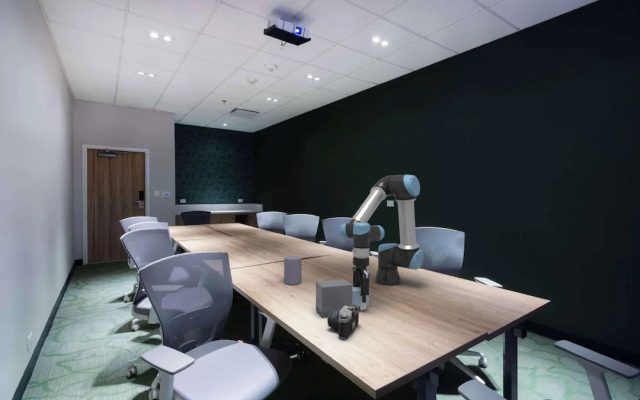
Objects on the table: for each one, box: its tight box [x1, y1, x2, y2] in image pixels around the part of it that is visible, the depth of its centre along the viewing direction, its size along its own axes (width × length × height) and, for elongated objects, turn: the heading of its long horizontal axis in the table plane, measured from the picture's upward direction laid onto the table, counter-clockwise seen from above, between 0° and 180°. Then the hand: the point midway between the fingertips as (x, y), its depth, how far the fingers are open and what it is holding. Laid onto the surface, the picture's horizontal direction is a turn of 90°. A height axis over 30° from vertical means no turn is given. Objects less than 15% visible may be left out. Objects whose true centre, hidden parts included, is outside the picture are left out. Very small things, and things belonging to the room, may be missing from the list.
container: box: [283, 255, 303, 286], centre depth 180 cm, size 10×10×15 cm
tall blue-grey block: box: [352, 287, 370, 307], centre depth 138 cm, size 18×5×7 cm, turn 107°
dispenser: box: [315, 279, 353, 319], centre depth 136 cm, size 14×9×13 cm, turn 107°
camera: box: [326, 304, 360, 340], centre depth 118 cm, size 16×10×10 cm, turn 155°
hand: (360, 306), depth 140 cm, fingers closed on tall blue-grey block, 5 cm apart
